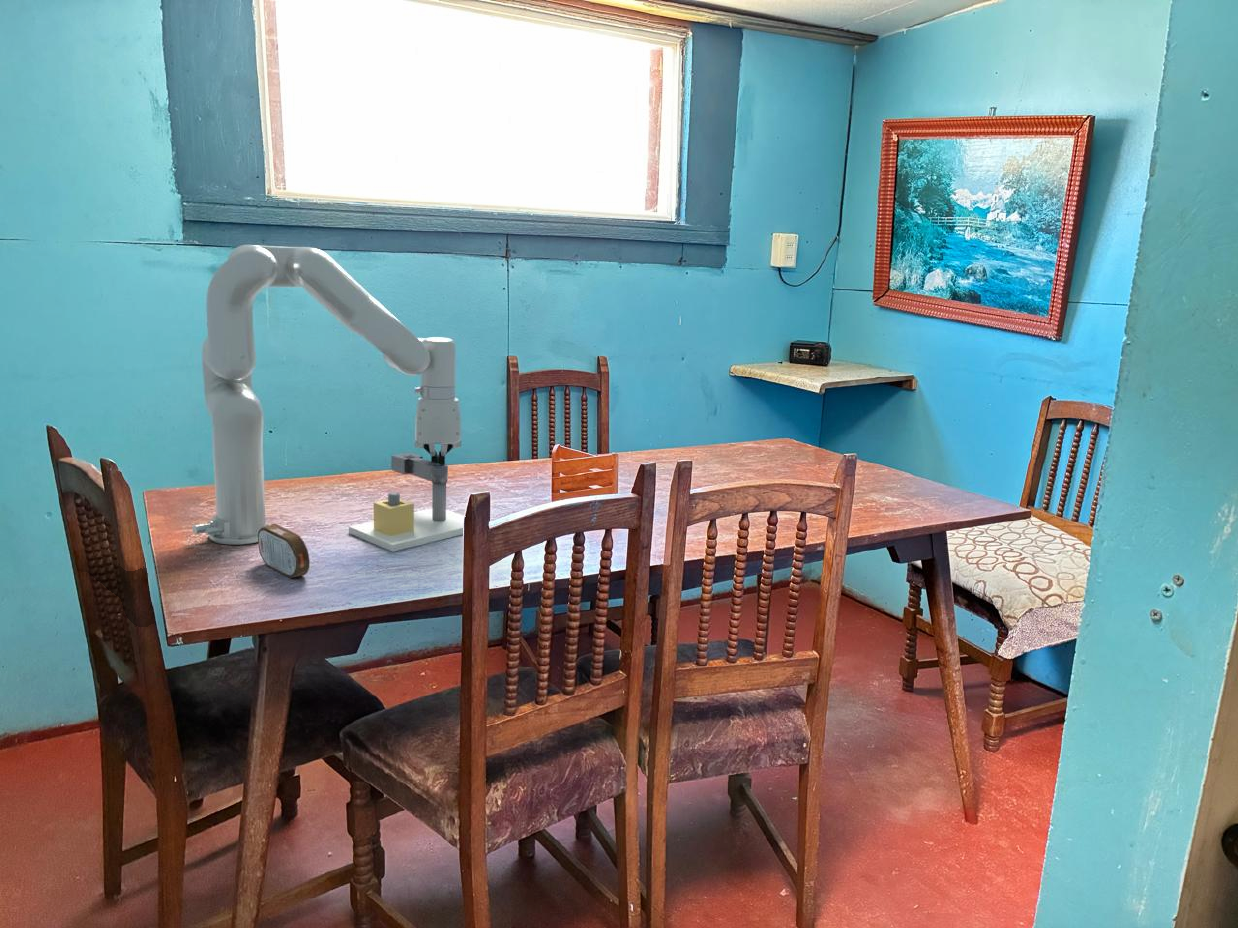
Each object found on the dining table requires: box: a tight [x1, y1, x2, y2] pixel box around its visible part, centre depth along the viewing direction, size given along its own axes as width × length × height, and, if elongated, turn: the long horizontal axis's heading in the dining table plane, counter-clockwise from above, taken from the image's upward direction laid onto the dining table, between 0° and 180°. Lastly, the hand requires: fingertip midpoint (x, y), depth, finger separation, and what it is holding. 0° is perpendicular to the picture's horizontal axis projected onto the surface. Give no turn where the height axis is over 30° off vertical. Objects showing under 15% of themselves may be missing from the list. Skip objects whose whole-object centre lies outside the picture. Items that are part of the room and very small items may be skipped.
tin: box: [257, 523, 311, 579], centre depth 178 cm, size 15×3×8 cm, turn 48°
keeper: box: [390, 452, 449, 484], centre depth 212 cm, size 16×5×4 cm, turn 48°
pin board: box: [348, 482, 464, 553], centre depth 205 cm, size 24×16×10 cm, turn 138°
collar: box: [373, 498, 415, 536], centre depth 201 cm, size 6×6×6 cm
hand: (437, 471), depth 215 cm, fingers closed
